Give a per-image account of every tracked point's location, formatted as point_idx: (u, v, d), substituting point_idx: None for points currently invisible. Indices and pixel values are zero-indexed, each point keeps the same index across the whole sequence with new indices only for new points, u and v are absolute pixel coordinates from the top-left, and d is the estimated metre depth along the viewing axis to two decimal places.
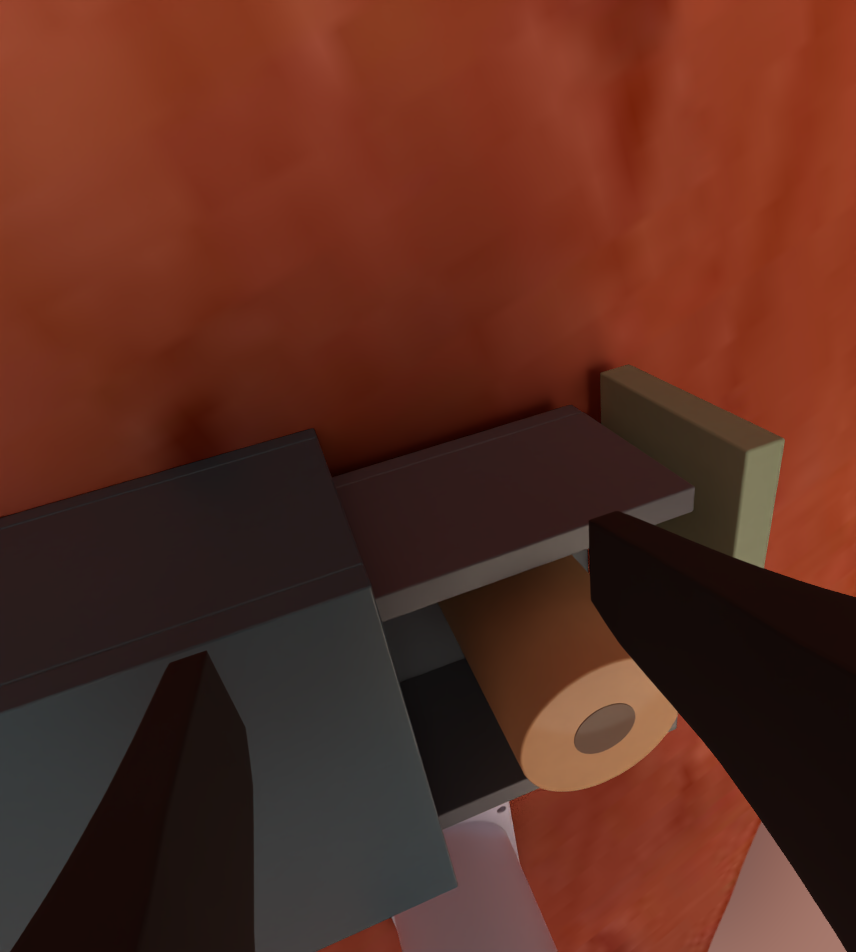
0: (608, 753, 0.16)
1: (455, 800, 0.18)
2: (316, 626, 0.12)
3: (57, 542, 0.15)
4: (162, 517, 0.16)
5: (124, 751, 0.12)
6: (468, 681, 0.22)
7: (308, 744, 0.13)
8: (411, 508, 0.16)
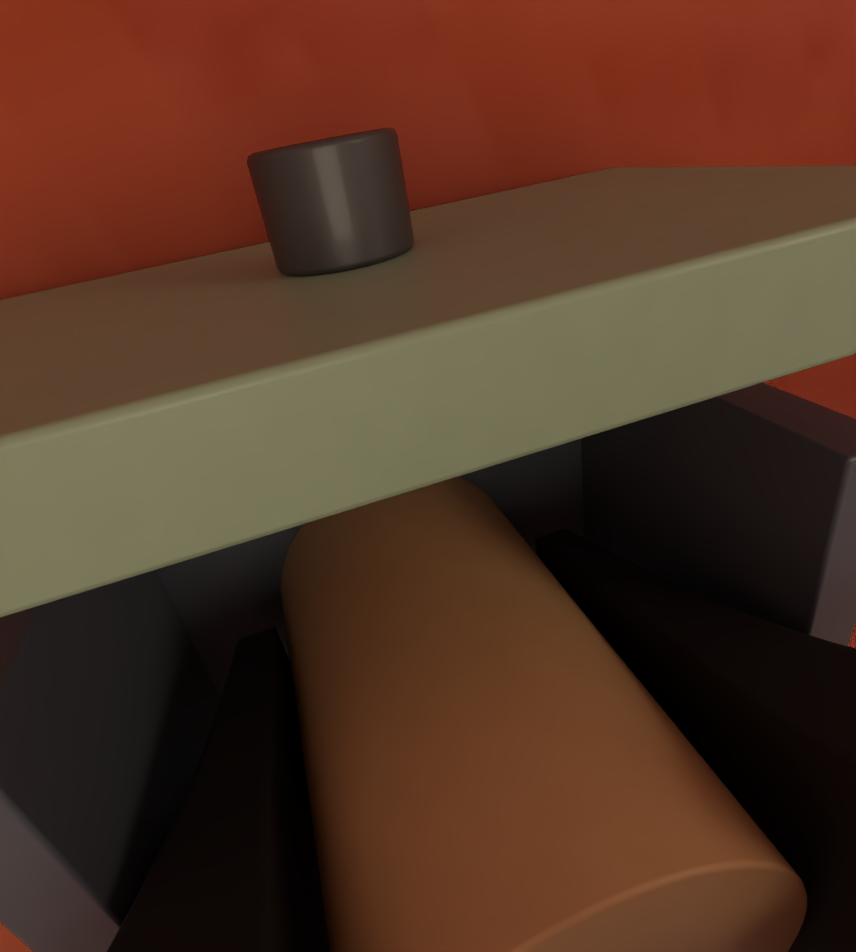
0: None
1: None
2: None
3: None
4: None
5: None
6: None
7: None
8: None
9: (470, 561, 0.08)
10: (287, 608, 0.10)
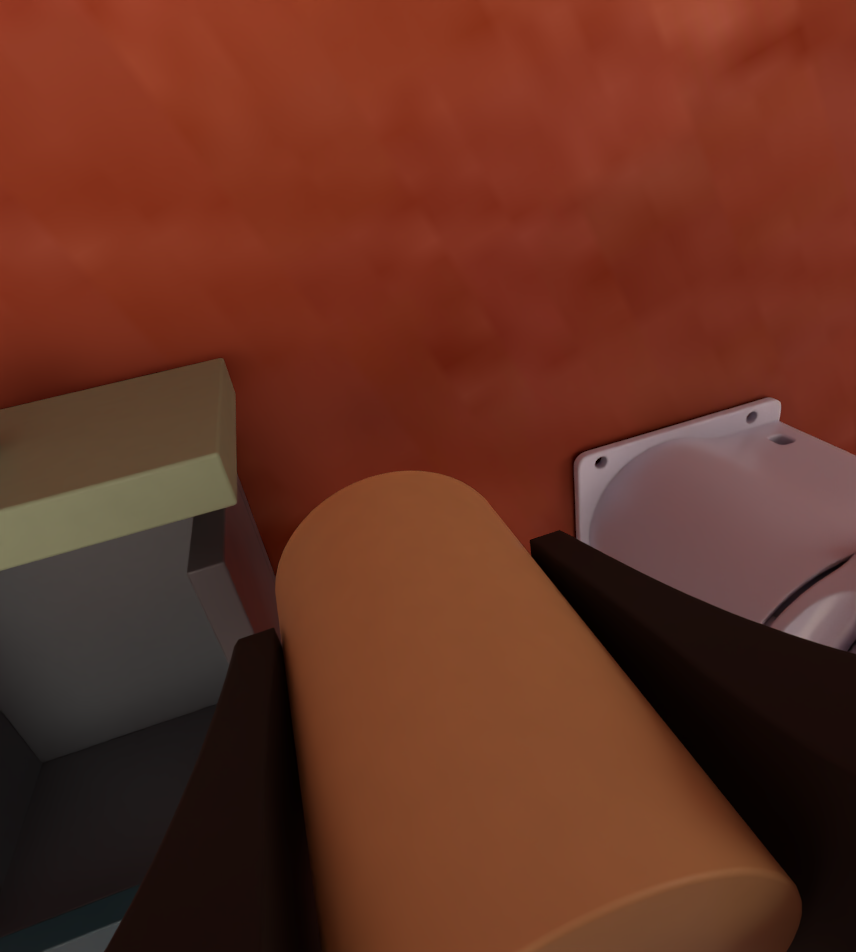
0: None
1: None
2: None
3: None
4: None
5: None
6: None
7: None
8: None
9: (464, 565, 0.08)
10: (281, 611, 0.10)
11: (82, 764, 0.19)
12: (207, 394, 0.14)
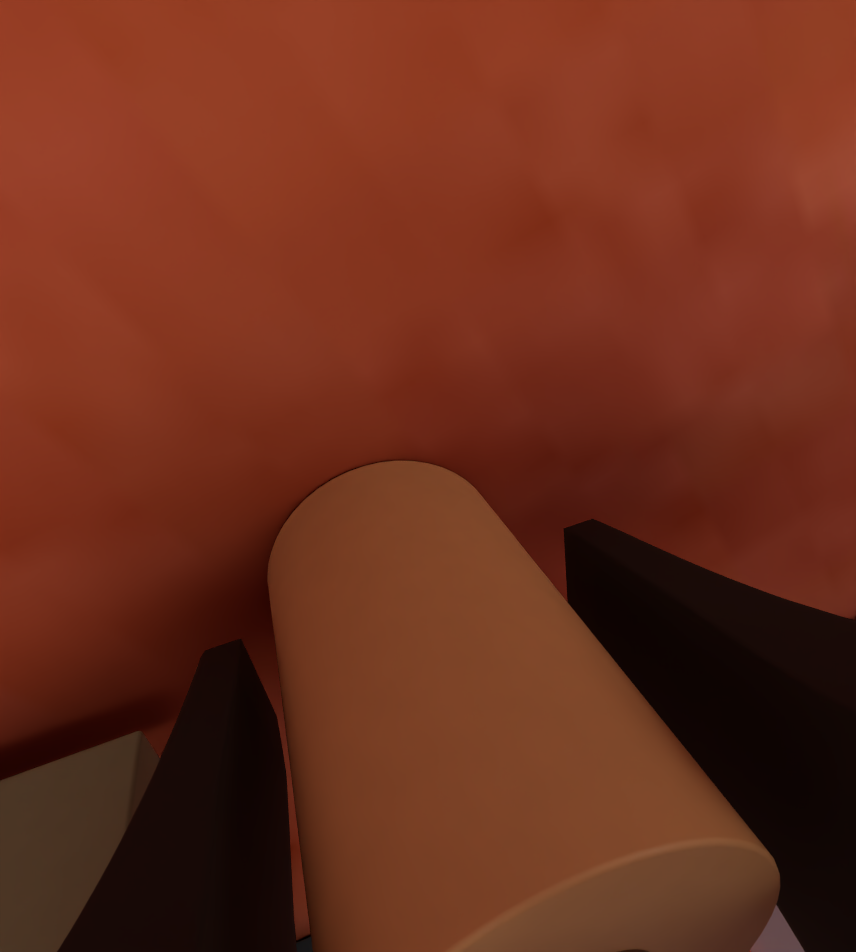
0: None
1: None
2: None
3: None
4: None
5: None
6: None
7: None
8: None
9: (453, 550, 0.08)
10: (273, 599, 0.10)
11: None
12: None
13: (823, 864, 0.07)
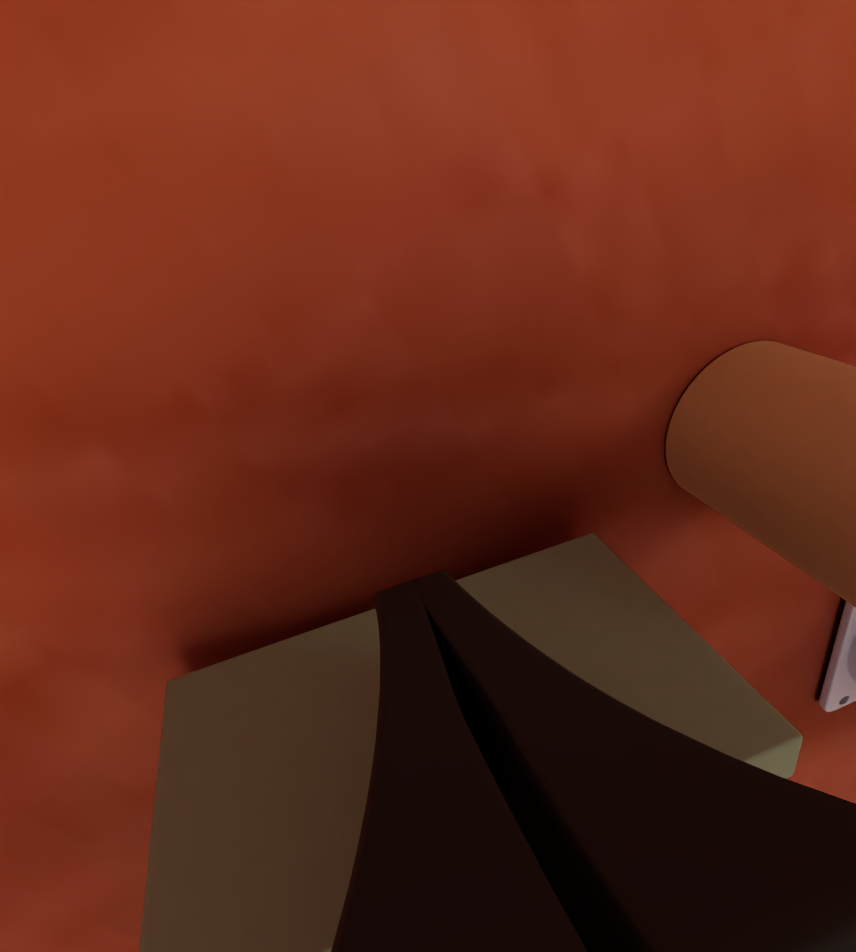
0: None
1: None
2: None
3: None
4: None
5: None
6: None
7: None
8: None
9: None
10: (703, 427, 0.15)
11: None
12: (655, 608, 0.13)
13: None
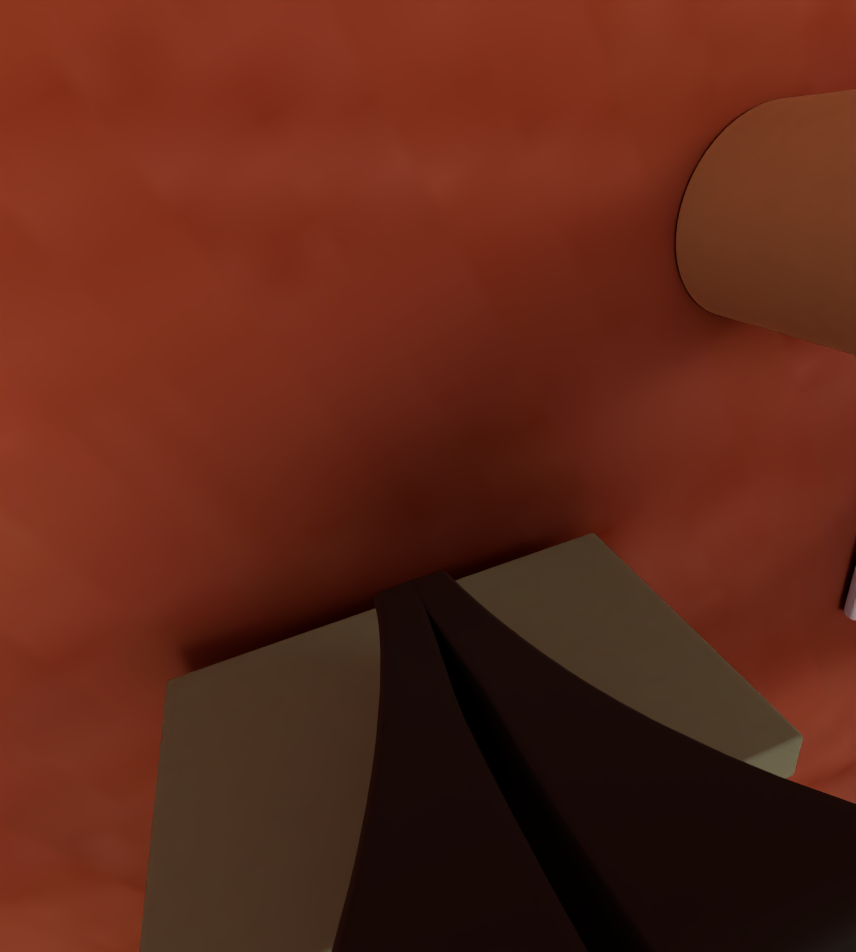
0: None
1: None
2: None
3: None
4: None
5: None
6: None
7: None
8: None
9: None
10: (723, 190, 0.12)
11: None
12: (655, 608, 0.13)
13: None
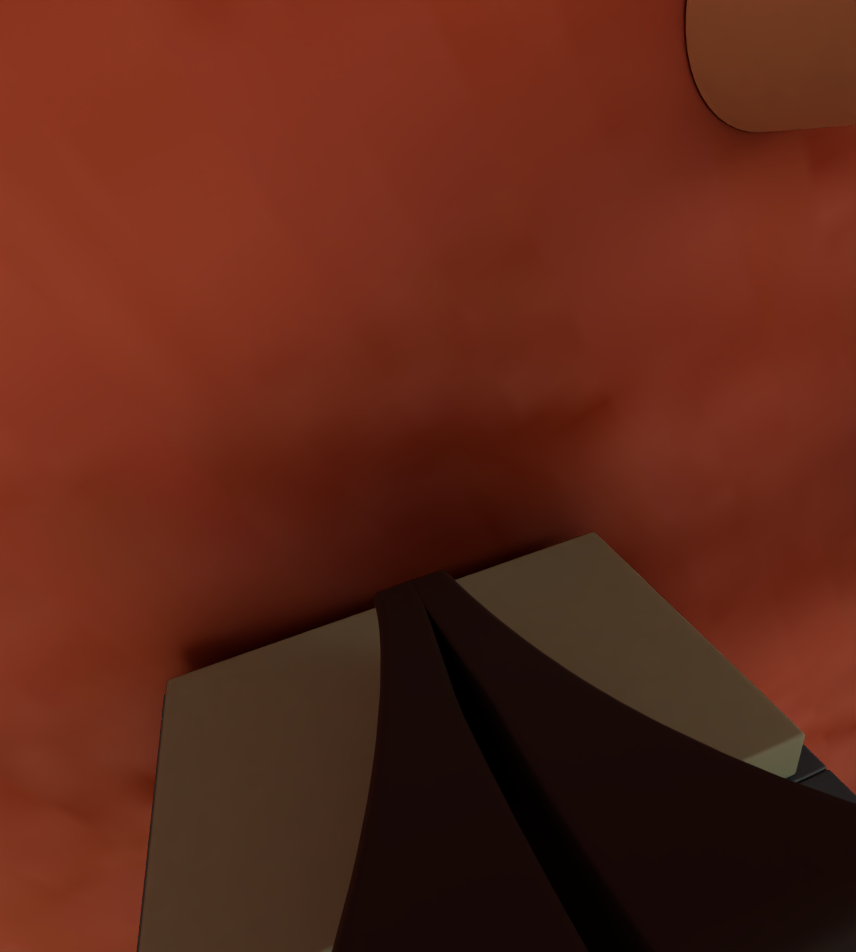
0: None
1: None
2: None
3: None
4: None
5: None
6: None
7: None
8: None
9: None
10: None
11: None
12: (657, 606, 0.13)
13: None
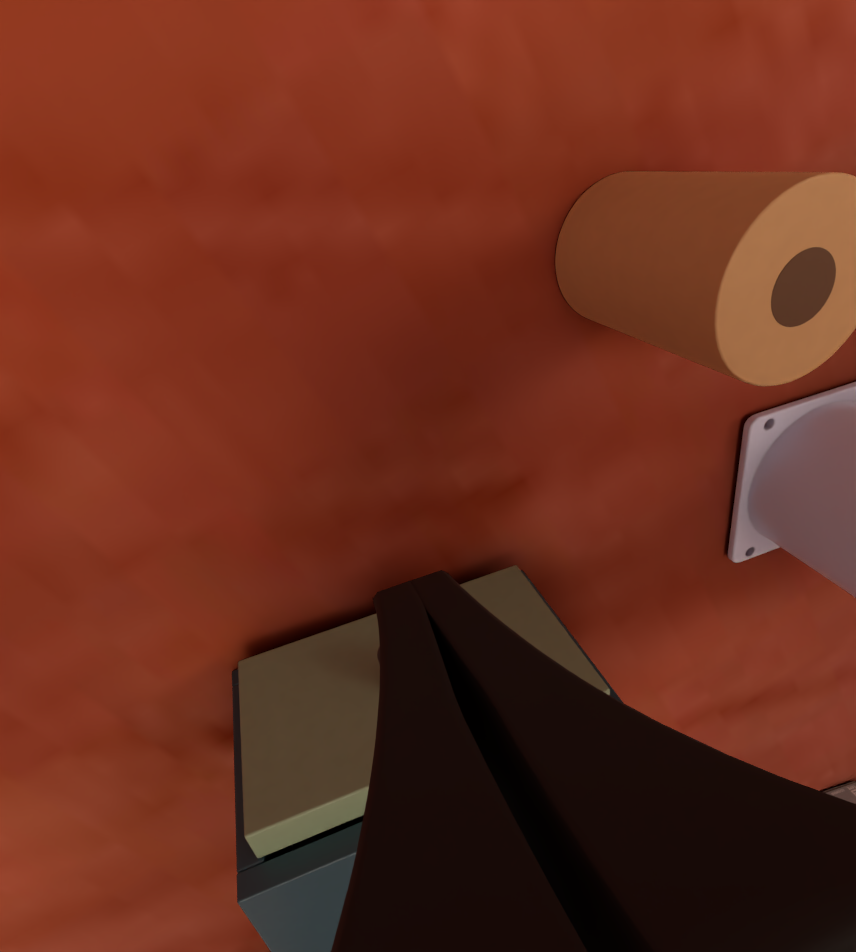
0: (842, 273, 0.14)
1: None
2: (271, 916, 0.16)
3: None
4: None
5: None
6: None
7: None
8: None
9: None
10: (577, 236, 0.18)
11: None
12: (545, 616, 0.21)
13: None
